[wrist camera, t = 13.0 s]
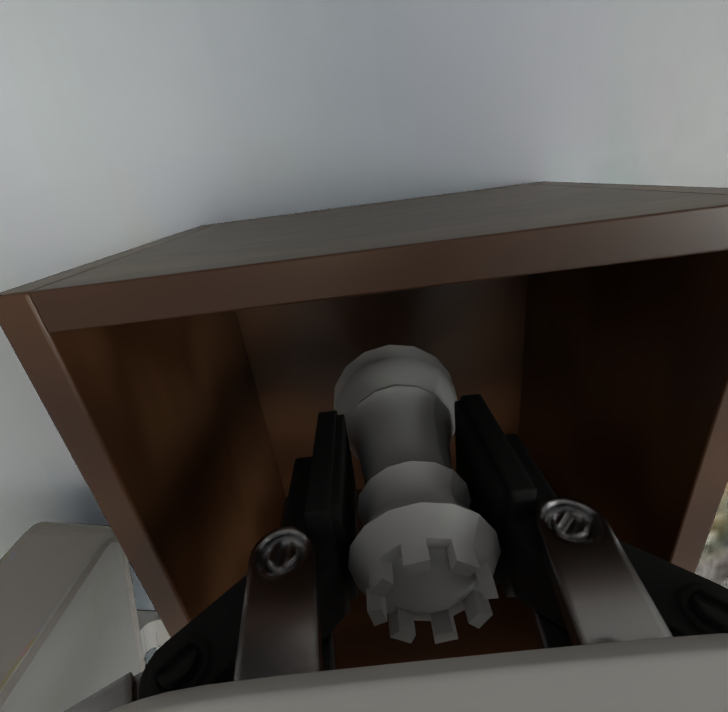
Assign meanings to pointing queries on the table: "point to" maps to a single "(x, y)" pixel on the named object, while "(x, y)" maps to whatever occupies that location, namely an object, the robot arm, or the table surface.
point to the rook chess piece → (413, 497)
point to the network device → (68, 618)
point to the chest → (380, 328)
